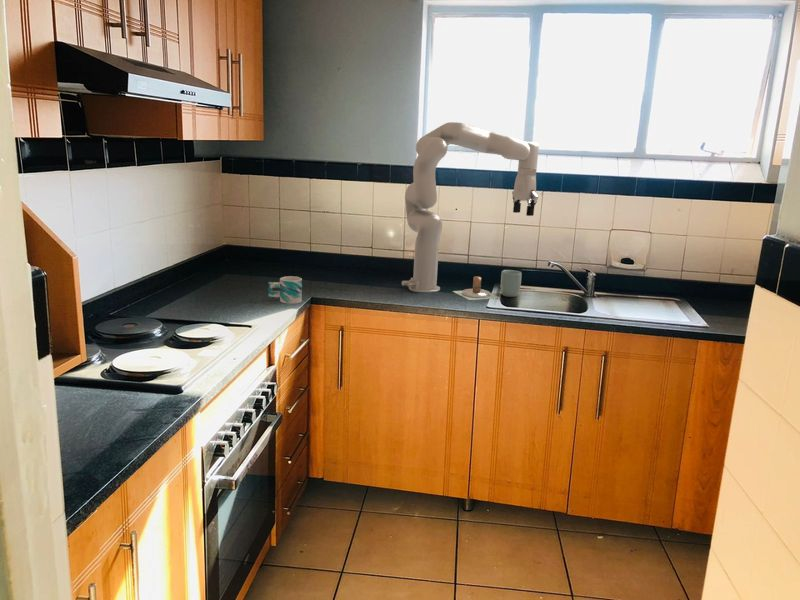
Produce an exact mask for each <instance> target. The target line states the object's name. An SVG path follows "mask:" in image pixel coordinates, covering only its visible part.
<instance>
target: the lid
mask: <svg viewBox="0 0 800 600" xmlns="http://www.w3.org/2000/svg"><path fill="white" fill-rule="evenodd" d="M481 287H482V276H478V275H477V276H473V282H472V288H466V289H465V288H464V289H463V290H461V291H462V294H463V295H465V296H468V297H473V298H486V297H490V293H491V292H490V291H489V290H485V289H483V290H482V288H481Z"/></svg>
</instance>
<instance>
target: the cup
mask: <svg viewBox="0 0 800 600" xmlns="http://www.w3.org/2000/svg"><path fill="white" fill-rule="evenodd" d="M500 278H501V279H500V292H501V294H502V296H504V297H508V298H515V297H517V296H518V295H519V294H520V290H521V286H522V285H521V284H522V271H519V270H515V269H514V270H513V269H503V270H502V271H501V275H500Z"/></svg>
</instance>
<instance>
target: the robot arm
mask: <svg viewBox="0 0 800 600" xmlns="http://www.w3.org/2000/svg"><path fill="white" fill-rule="evenodd" d="M449 145H454V146H458V147H462V148H465V149H470V150H472V151H476V152H479V153H484V154H490V155H491V154H492V155H499V156H501V157H502V158H504V159H505V160H510V161H511V160H512V161H513V160H514V161H518V165H517V167H518V168H517V175H516V177H515V181H514V186H513V187H514V188H513V190H512V192H511V194H512V200H513V202H512V203H513V209H512V213H516V214H517V213H521V208H522V207H521V206H522V203H521V201H524V202H527V205H526V214H525V215H526V216H527V217H532V216H534V213H535V207H536V204H537V202H538V199H539V195H538V194H537V167H538V157H539V148H540V145H539V143H538V142H536V141H523V140H521V139H518V138H514V137H511V136H507V135H504V134H500V133H496V132H493V131H489V130H486V129H482V128H479V127H476V126H473V125H470V124H466V123H462V122H446V123H444V124H442V125H439V126H438V127H437V128H435V129H433V130H431V131H430V132H428V133H427V134H425V135H423V136H422V137H420V138H419V139H418V141H417V143H416V144H415V151H416V154H417V157H416V159H415V161H414V163H413V167H412V168H413V170H412V172H413V173H412V174H413V175H412V176H413V182H411V183H410V184H409V185H408V186H407V188H406V190H405V192H404V201H405V202H404V203H405V212H406V221H407V224H408V227H409V228H410V229H411V230H412V231H414V232H416V233H417V234H416V235H417V236H416V239H415V243H414V253H413V254H414V256H413V257H414V258H413V259H414V260H413V277H410V279H409V280H402V281H401V285H402V287H403V286H404V287H405V286H407V287H408V289H409V290H410V291H411V292H415V293H418V294H419V293H436V292H439V291H440V290H441V287H440V286H438V285H437V283H438V282H437V281H438V268H439V267H438V265H439V250H440V240H441V235H442V230H443V222H442V219H441V217H440V216H439V215H438V213H435V212H433V211H430V210H429V209H430V208H433V207H434V206H435V205H436V203H437V200H438V193H437V181H436V171H437V170H436V169H437V166H438V164H439V162H440V161H441V160H442V159H443V158H444V157H445V156H446V155H447V152H448V148H449V147H448V146H449Z"/></svg>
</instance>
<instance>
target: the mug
mask: <svg viewBox="0 0 800 600" xmlns="http://www.w3.org/2000/svg"><path fill="white" fill-rule="evenodd" d="M273 288H276V289H277V288H278V289H279V290H273ZM302 292H303V278H302V277H299V276H292V275H290V276H289V275H288V276H282V277H280V278H279V281H277V282H275V281H268V285H267V294H268V295H267V298H279V302H280V303H284V304H289V305H290V304H299V303H302V301H303V298H302V297H303V293H302Z"/></svg>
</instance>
